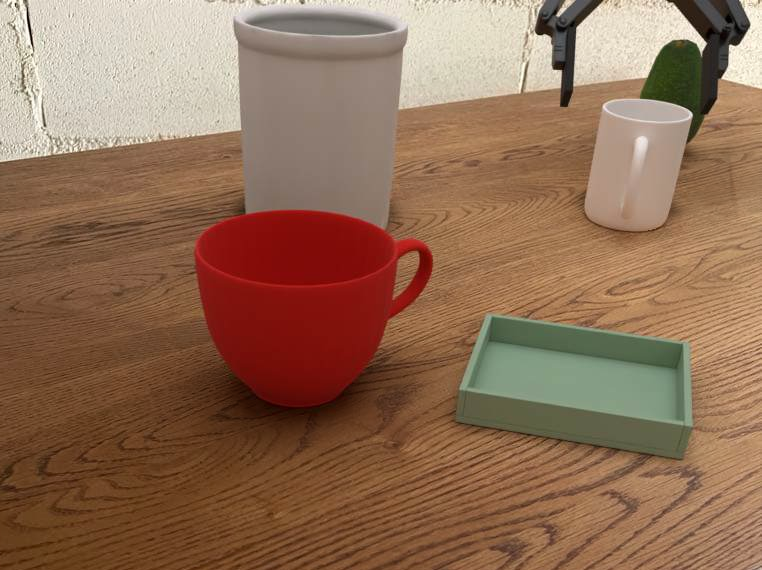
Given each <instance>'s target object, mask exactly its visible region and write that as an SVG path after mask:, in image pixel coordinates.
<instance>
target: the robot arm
mask: <svg viewBox="0 0 762 570" xmlns="http://www.w3.org/2000/svg"><path fill="white" fill-rule="evenodd" d="M543 2H544V3H543V4H542V5H541V7H540V9H539V10H538V13H537V18H536V21H535V25H534V33H535V35H537V36H544V35H546V36H548V37H549V38H550V45H551V46H552V47H551V64H550V65H551V68H552V71H561V77H560V97H559V98H560V99H559V107H560V108H568V107H569V105H570V101H571V99H572V97H573V96H572V95H573V93H574V83H575V65H576V47H577V46H576V44H577V29H578V27H579V26H580V25H581V24H582V23H583V22H584V21H585V20H586V19H587V18H588V17H589V16H590V15H591V14H592V13H593V12H594V11H595V10H596V9H597V8H598V7H599V6H600V5H601V4H602V3H603V2H605V0H574V1H573V2H572V3H571V4H570V5H569V6H568V7H566V9H565V10H564V11H562V13H561V14H560V15H559V16H558V13H560V10H561V9H562V7H563V5H564V4H565V3H566V0H545V1H543ZM666 2H667V3H669V4H673V5H674V6H675V7H676V9H677V10H678V11H679V12H680V13H681V15H682V16H683V17H684V18H685V20H686V21H687V22H688V23H689V24H690V25H691V27H692V28H693V29H694V30H695V31H696V32H697V34H698V35H699V36H700V37H701V38H702V39H703V41H704V42H705V43H706V44H705V46H704V48H703V49H702V52H701V56H702V68H701V93H700V115H705V116H708V115H709V113H710V111H711V110H712V108H713V107H714V105H715V104H716V102H717V100H718V93H719V80H722V78H723V76H724V75H725V73H726V72H727V70H728V67H729V65H730V64H729V62H730V61H729V58H730V46H733V47H738V46H739V45H740V44H741V43H742V41H743V39H744V38H745V36H746V34H747V33H748V31H749V30H750V28H751V21H750V18H749V17H748V15H747V13H746V10H745V8H744V6H743V5H742V3H741V1H740V0H666Z"/></svg>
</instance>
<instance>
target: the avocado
mask: <svg viewBox="0 0 762 570" xmlns="http://www.w3.org/2000/svg"><path fill="white" fill-rule="evenodd" d="M701 68H702V52H701V50H700V48H699V45H698V44H697V43H696V42H694V41H693V40H690V39H686V38H684V39H682V38H681V39H672V40H671V41H669V42H667V43H666V44H665V45H663V46H662V48H661V49H660V50H659V52H658V53H657V55H656V57H655V59H654V61H653V64H652V66H651V68H650V70H649V72H648V74H647V77H646V79H645V81H644V84H643V86H642V89H641V91H640V96H639V99H647V100H656V101H662V102H667V103H671V104H675V105H678V106H681V107H684V108H686V109H688V110H689V111H690V112H691V113H692V115H693V117H692V121H691V125H690V129H689V133H688V137H687V141H686V145H685V147H687V146H688V145H689V143H691V141H692V140H693V139H694V138H695V137H696V136H697V134H698V132H699V130H700V128H701V126H702V124H703V122H704V120H705V117H706V115H700V93H701Z"/></svg>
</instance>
